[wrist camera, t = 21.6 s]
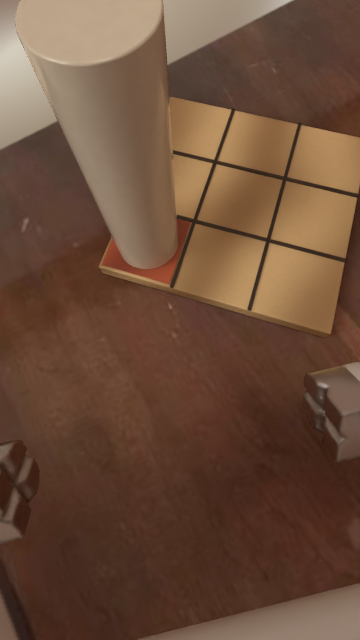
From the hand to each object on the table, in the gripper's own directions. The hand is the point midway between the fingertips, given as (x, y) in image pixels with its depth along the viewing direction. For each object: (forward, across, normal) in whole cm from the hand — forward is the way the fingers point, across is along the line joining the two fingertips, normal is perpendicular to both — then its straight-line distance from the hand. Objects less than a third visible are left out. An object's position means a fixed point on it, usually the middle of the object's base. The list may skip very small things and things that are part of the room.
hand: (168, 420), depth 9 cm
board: (+16, -7, -2) cm, 17 cm away
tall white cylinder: (+14, 0, -2) cm, 14 cm away
